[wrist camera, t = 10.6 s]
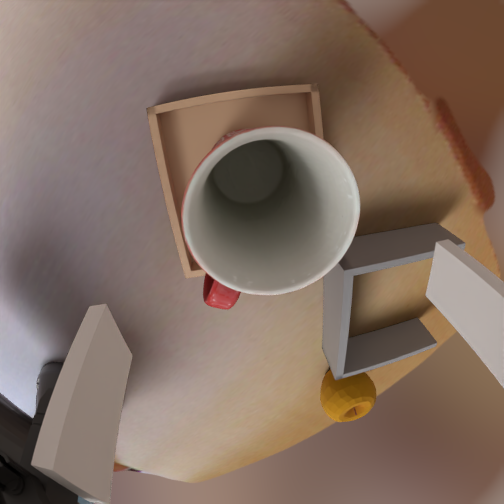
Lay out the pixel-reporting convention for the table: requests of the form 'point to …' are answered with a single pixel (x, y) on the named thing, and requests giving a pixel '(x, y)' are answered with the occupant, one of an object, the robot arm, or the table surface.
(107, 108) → the table surface
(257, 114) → the tray
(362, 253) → the bay
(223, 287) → the mug
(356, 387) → the apple
